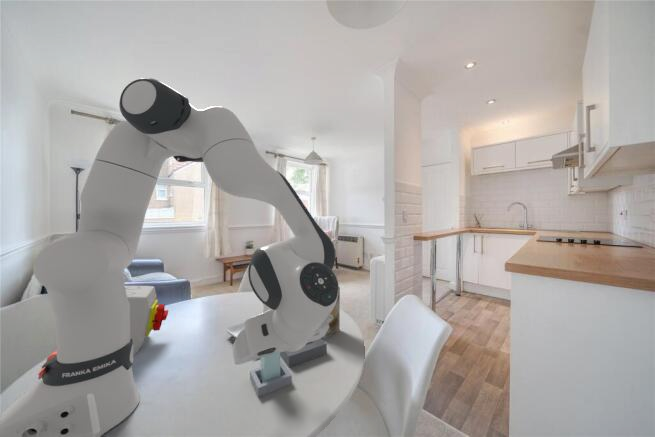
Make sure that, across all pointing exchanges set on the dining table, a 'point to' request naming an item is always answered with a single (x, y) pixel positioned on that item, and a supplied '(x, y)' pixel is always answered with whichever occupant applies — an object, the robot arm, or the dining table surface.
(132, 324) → the electrical switch box
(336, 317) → the coffee box
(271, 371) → the plug
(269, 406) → the dining table surface
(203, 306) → the dining table surface
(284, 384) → the grey storage bin
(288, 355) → the block
